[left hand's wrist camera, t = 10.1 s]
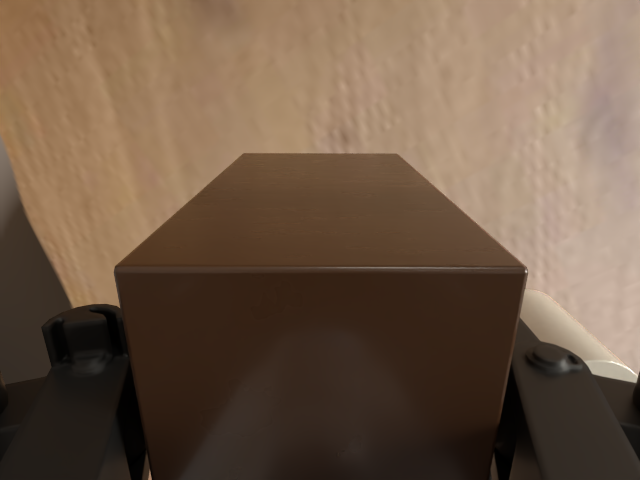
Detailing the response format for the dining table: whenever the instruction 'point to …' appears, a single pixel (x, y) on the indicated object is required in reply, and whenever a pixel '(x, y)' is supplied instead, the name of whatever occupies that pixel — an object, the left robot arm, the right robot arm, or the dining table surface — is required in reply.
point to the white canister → (570, 335)
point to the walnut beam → (320, 326)
